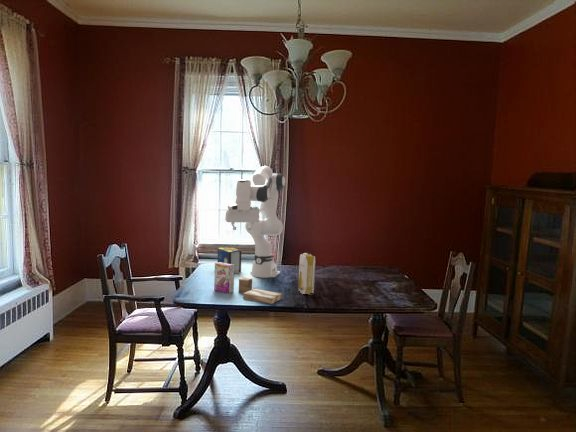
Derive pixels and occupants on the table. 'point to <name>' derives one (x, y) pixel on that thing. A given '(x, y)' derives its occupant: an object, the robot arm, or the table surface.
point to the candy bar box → (224, 277)
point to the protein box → (230, 257)
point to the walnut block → (245, 284)
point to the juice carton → (306, 273)
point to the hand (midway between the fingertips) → (242, 229)
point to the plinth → (262, 296)
